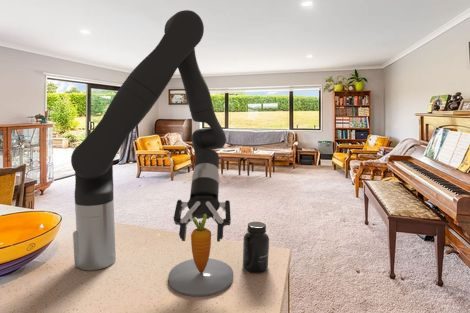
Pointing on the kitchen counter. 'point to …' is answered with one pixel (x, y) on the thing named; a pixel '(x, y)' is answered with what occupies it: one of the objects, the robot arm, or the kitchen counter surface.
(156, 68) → the robot arm
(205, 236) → the carrot
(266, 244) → the supplement bottle
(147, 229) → the kitchen counter surface
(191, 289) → the slate plate
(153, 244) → the kitchen counter surface
